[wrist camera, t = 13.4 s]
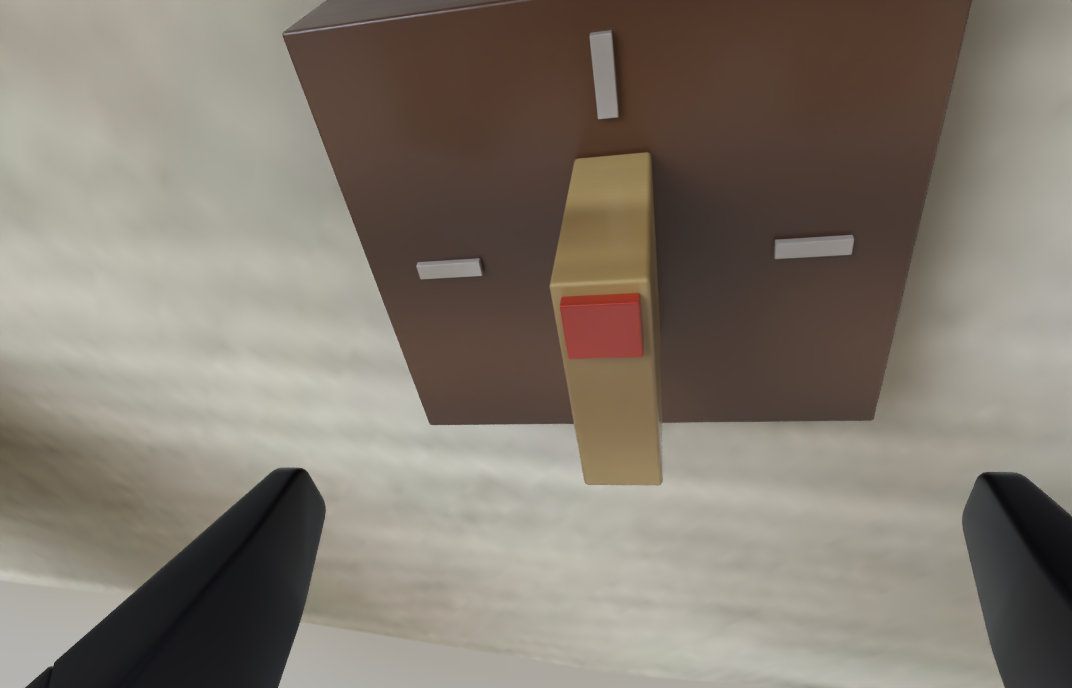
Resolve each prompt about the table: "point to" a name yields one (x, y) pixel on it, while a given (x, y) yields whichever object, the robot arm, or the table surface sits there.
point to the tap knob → (611, 319)
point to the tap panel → (678, 184)
